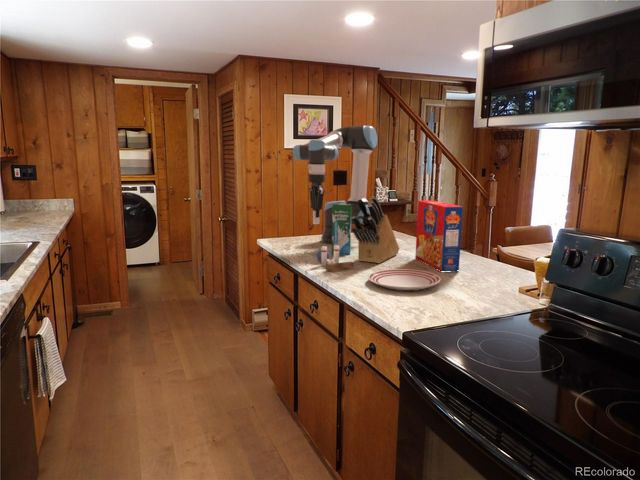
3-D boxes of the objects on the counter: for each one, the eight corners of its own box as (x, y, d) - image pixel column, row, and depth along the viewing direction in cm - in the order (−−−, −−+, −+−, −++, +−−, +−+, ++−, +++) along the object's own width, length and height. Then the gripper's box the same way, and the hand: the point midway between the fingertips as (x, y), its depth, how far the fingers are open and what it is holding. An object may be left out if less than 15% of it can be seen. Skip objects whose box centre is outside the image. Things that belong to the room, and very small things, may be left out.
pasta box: (415, 258, 226) (418, 200, 221) (430, 258, 227) (433, 200, 222) (441, 272, 199) (445, 207, 194) (458, 272, 200) (462, 206, 195)
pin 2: (337, 263, 213) (337, 245, 212) (339, 264, 211) (340, 246, 209) (332, 264, 212) (332, 245, 211) (334, 265, 210) (335, 246, 208)
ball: (333, 254, 213) (329, 264, 217) (328, 246, 218) (325, 255, 221) (321, 255, 211) (317, 264, 214) (316, 246, 215) (313, 256, 219)
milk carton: (350, 251, 242) (351, 202, 237) (349, 254, 233) (351, 204, 228) (333, 250, 243) (333, 202, 238) (331, 254, 234) (332, 204, 229)
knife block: (348, 265, 210) (349, 196, 205) (378, 251, 240) (380, 191, 235) (371, 268, 205) (373, 197, 199) (399, 254, 235) (402, 192, 229)
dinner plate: (366, 293, 169) (366, 284, 168) (368, 274, 196) (369, 266, 195) (444, 296, 165) (445, 287, 165) (436, 277, 192) (436, 269, 191)
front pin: (327, 257, 212) (335, 261, 204) (330, 262, 213) (338, 265, 205) (323, 260, 211) (331, 264, 204) (325, 265, 212) (334, 269, 204)
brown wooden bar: (351, 268, 205) (351, 261, 204) (353, 269, 203) (353, 262, 202) (326, 270, 200) (326, 263, 199) (328, 271, 198) (328, 264, 197)
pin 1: (325, 264, 211) (325, 246, 209) (327, 266, 208) (327, 247, 207) (320, 265, 210) (320, 246, 208) (322, 266, 207) (322, 247, 206)
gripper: (303, 173, 222) (303, 222, 226) (314, 174, 210) (314, 226, 214) (318, 173, 225) (318, 221, 229) (329, 174, 213) (329, 225, 217)
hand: (316, 224), depth 222 cm, fingers closed
